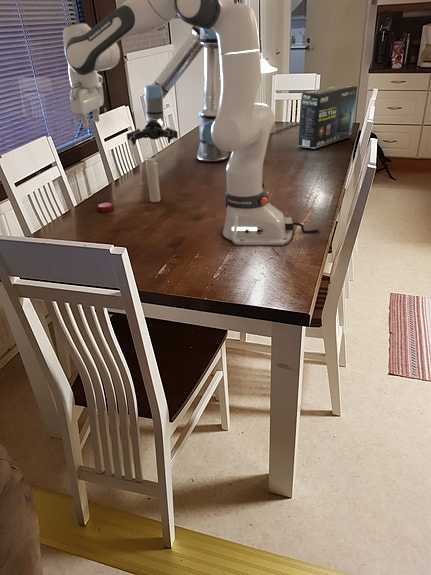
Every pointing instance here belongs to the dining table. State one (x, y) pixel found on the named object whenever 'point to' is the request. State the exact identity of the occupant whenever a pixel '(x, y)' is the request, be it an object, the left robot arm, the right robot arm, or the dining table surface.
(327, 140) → the router box
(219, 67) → the left robot arm
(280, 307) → the dining table surface
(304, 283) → the dining table surface
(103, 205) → the lid
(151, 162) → the white cylinder
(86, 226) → the dining table surface
